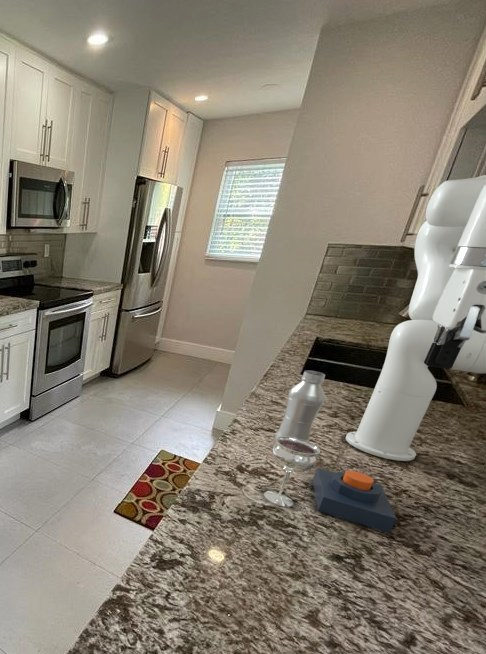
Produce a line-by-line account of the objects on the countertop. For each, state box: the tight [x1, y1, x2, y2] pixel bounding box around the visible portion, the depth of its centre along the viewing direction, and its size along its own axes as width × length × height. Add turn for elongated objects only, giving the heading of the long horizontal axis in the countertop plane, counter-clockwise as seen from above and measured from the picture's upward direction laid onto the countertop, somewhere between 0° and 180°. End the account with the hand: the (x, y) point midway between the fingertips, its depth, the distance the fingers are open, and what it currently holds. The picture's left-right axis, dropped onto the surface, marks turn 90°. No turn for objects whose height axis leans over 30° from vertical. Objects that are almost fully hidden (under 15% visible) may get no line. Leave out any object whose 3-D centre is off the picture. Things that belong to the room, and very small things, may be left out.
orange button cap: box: [343, 470, 375, 490], centre depth 77 cm, size 4×4×2 cm
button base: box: [312, 467, 397, 534], centre depth 78 cm, size 12×10×5 cm
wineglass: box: [263, 436, 321, 507], centre depth 77 cm, size 7×7×12 cm
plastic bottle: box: [272, 369, 326, 446], centre depth 93 cm, size 6×7×20 cm
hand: (436, 366), depth 73 cm, fingers closed
